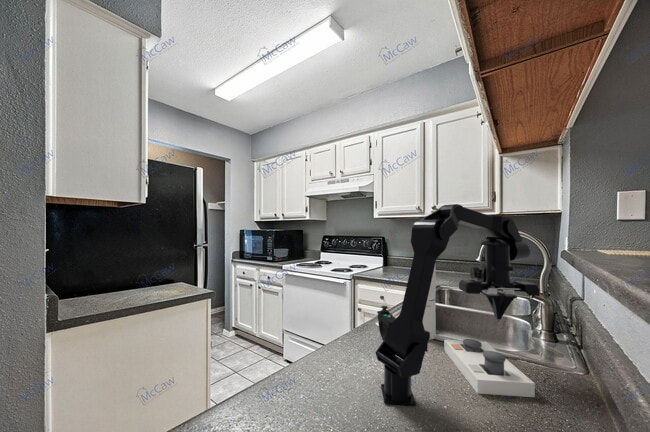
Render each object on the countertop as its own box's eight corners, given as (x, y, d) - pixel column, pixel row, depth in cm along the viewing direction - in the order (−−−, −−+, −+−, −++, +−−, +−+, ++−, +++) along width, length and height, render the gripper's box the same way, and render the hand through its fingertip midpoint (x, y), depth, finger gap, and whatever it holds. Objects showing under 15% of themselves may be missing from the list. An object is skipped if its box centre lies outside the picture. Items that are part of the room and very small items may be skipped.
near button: (509, 380, 64) (509, 360, 64) (488, 378, 64) (488, 358, 65) (499, 369, 69) (499, 351, 69) (479, 368, 69) (479, 350, 69)
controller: (387, 333, 97) (387, 303, 97) (402, 348, 85) (402, 315, 85) (375, 333, 96) (375, 304, 97) (388, 349, 84) (388, 315, 84)
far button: (484, 362, 76) (484, 346, 76) (467, 361, 76) (467, 345, 77) (477, 355, 81) (477, 339, 81) (460, 354, 81) (460, 338, 81)
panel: (534, 397, 61) (534, 382, 61) (477, 393, 62) (477, 378, 62) (485, 352, 83) (485, 341, 83) (444, 349, 84) (444, 339, 84)
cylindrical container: (440, 337, 93) (440, 262, 94) (423, 340, 91) (423, 263, 91) (425, 330, 100) (425, 260, 101) (408, 332, 97) (409, 260, 98)
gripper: (516, 259, 84) (516, 311, 84) (451, 257, 86) (452, 309, 85) (541, 264, 73) (542, 324, 72) (467, 262, 75) (467, 321, 74)
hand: (498, 319), depth 76 cm, fingers closed
